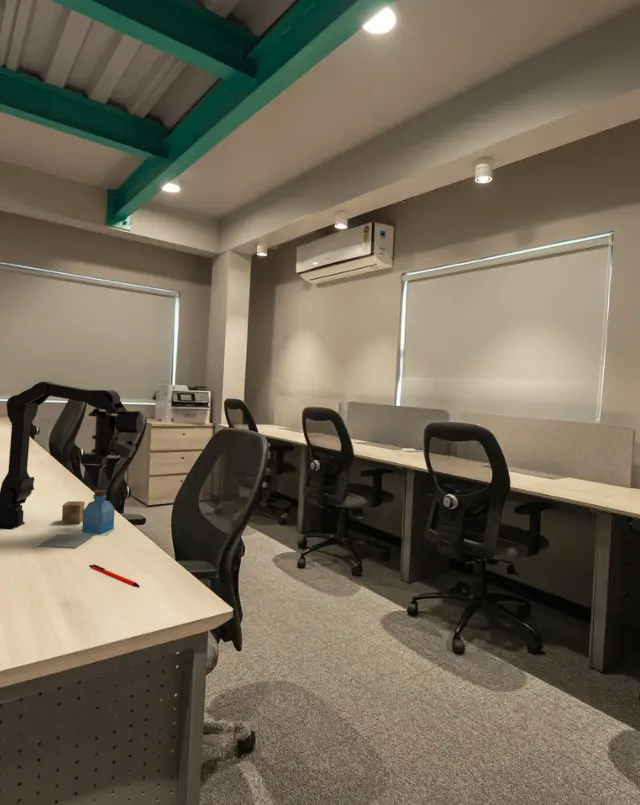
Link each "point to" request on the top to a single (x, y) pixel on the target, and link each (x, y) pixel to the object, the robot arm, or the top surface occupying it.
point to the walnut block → (73, 512)
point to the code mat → (96, 534)
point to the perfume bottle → (98, 515)
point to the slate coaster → (65, 541)
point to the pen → (113, 575)
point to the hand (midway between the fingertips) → (103, 483)
